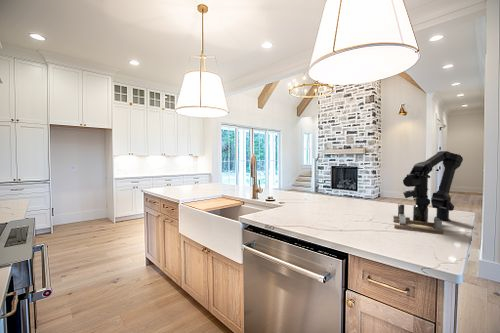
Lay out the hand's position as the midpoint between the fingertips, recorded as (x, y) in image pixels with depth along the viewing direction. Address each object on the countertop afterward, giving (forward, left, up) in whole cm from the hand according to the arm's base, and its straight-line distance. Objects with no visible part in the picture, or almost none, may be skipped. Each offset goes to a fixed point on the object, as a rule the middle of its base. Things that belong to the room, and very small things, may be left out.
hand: (420, 213), depth 134 cm
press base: (+9, -3, -5) cm, 10 cm away
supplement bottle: (0, 0, -5) cm, 5 cm away
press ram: (+7, -9, -5) cm, 12 cm away
